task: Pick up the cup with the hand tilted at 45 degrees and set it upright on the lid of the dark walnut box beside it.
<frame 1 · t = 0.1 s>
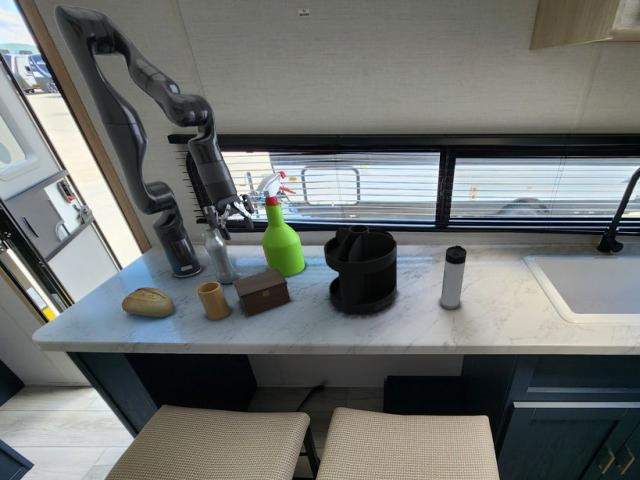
hand: (239, 234, 96), 22 cm above the worktop, tool pointing down, fingers open, 8 cm apart
plastic bottle: (228, 281, 116), on the worktop
cup: (219, 313, 100), on the worktop
bread roll: (153, 312, 100), on the worktop
container: (363, 297, 108), on the worktop
spray bottle: (291, 265, 126), on the worktop
box: (265, 301, 106), on the worktop
travel mug: (449, 303, 106), on the worktop
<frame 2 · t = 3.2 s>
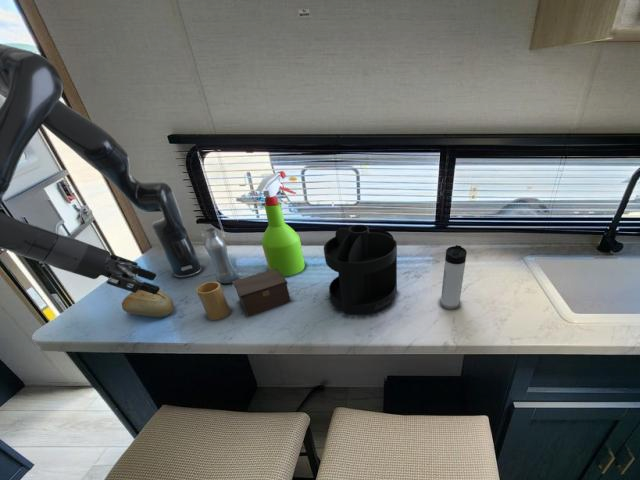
hand: (156, 283, 86), 15 cm above the worktop, tool tilted 45°, fingers open, 8 cm apart
nothing on the worktop moved.
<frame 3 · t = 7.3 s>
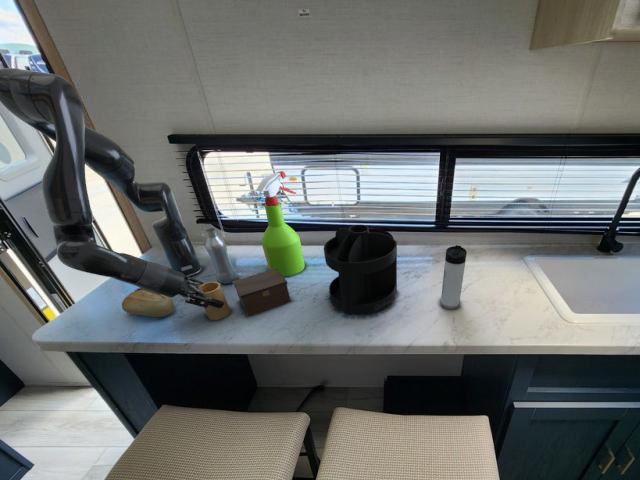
hand: (219, 299, 98), 5 cm above the worktop, tool tilted 45°, fingers closed on cup, 6 cm apart
cup: (219, 313, 100), on the worktop, touching gripper
everything else where it was.
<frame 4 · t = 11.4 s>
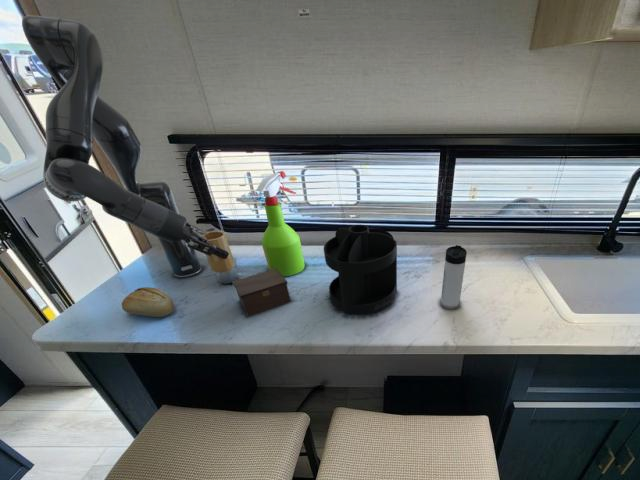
hand: (224, 251, 91), 20 cm above the worktop, tool tilted 45°, fingers closed on cup, 6 cm apart
cup: (223, 266, 93), point 16 cm above the worktop, touching gripper
everything else where it was.
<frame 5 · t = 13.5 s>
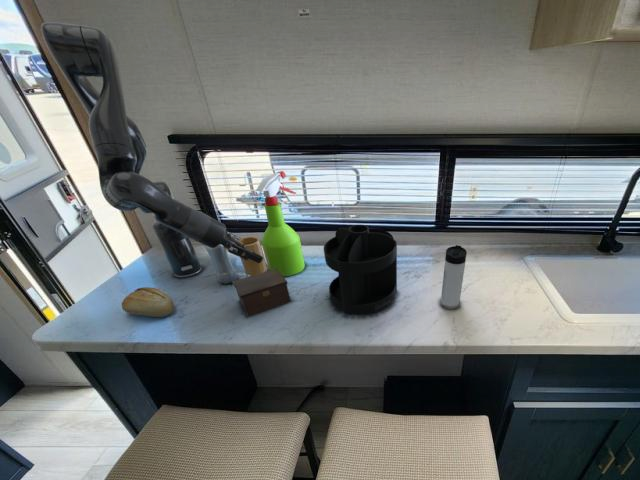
hand: (257, 255, 97), 17 cm above the worktop, tool tilted 45°, fingers closed on cup, 6 cm apart
cup: (256, 270, 99), point 12 cm above the worktop, touching gripper
everything else where it was.
when the fingers open (13 cm above the worktop, at t = 15.3 s): cup stays where it is, resting on box.
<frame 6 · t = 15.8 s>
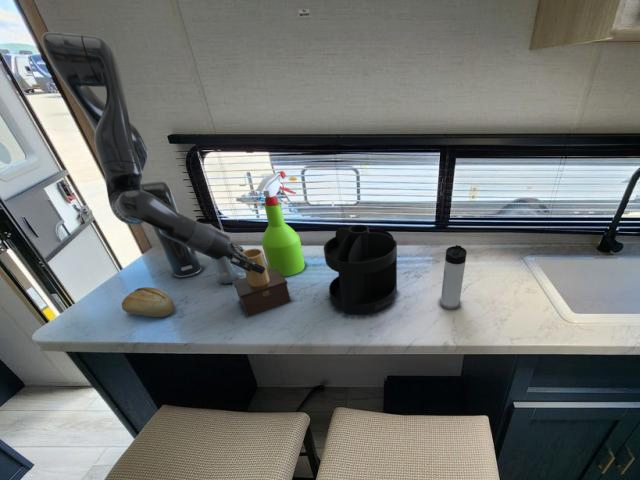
hand: (259, 265, 98), 13 cm above the worktop, tool tilted 45°, fingers open, 8 cm apart
cup: (259, 281, 101), point 8 cm above the worktop, touching box
everything else where it was.
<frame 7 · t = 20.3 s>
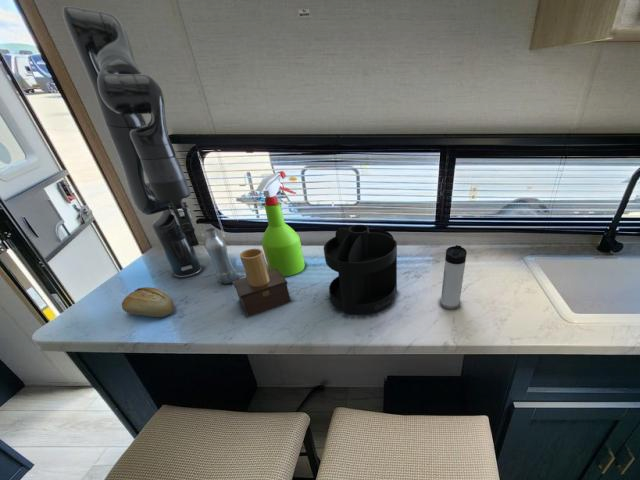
hand: (192, 239, 84), 26 cm above the worktop, tool pointing down, fingers open, 8 cm apart
nothing on the worktop moved.
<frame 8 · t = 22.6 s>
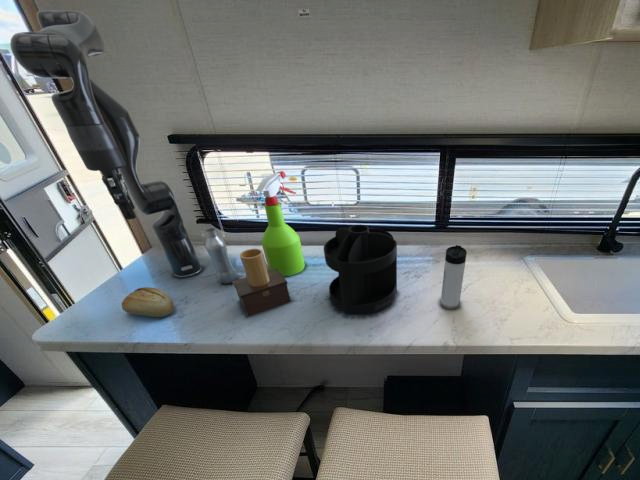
hand: (130, 213, 82), 32 cm above the worktop, tool pointing down, fingers open, 8 cm apart
nothing on the worktop moved.
at the end: cup inside the target area on the box (0.1 cm from its centre), point 8.1 cm above the box's base; cup tilted 0°; the gripper is holding nothing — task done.
